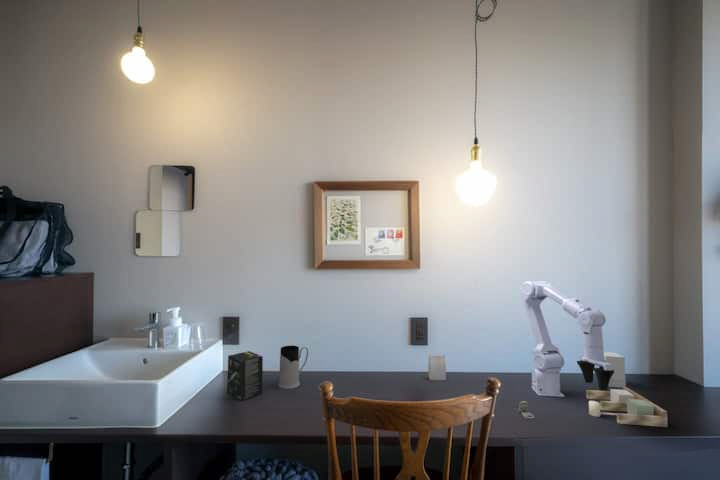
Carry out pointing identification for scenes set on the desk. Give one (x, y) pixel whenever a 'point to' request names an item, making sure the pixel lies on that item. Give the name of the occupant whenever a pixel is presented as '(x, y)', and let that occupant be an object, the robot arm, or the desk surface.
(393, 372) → the desk surface
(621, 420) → the lane rack
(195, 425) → the desk surface
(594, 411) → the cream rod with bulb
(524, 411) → the strap clip
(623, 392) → the grey block
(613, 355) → the supplement box
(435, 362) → the beige box
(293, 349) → the grey mug
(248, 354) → the tampon box
